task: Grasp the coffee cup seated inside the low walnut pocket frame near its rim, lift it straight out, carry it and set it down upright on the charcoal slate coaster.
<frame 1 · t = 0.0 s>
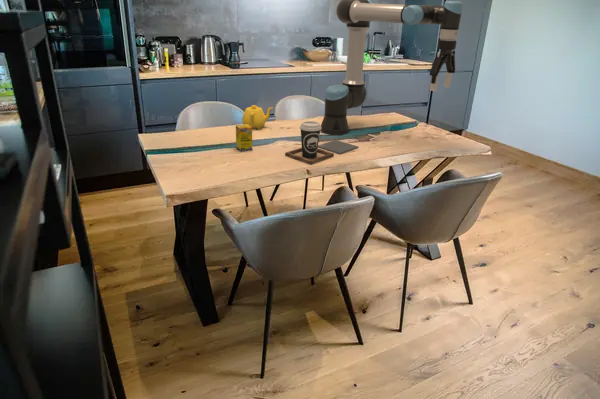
hand: (439, 89, 200), 28 cm above the table, fingers open, 13 cm apart
coffee cup: (309, 156, 195), resting in pocket frame
supplement box: (244, 149, 202), on the table
coaster: (337, 147, 207), on the table
pocket frame: (309, 156, 195), on the table
teapot: (257, 127, 235), on the table
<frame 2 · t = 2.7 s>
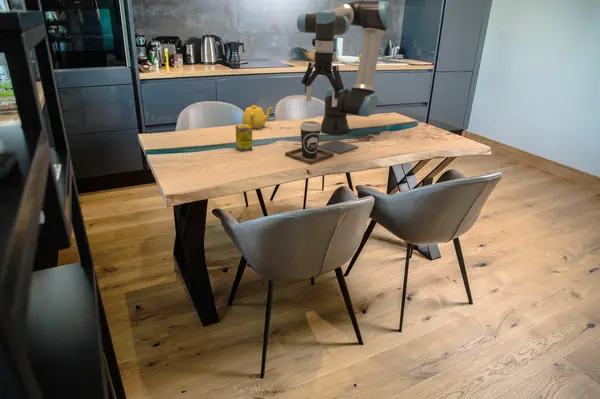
hand: (321, 103, 186), 23 cm above the table, fingers open, 13 cm apart
nothing on the table moved.
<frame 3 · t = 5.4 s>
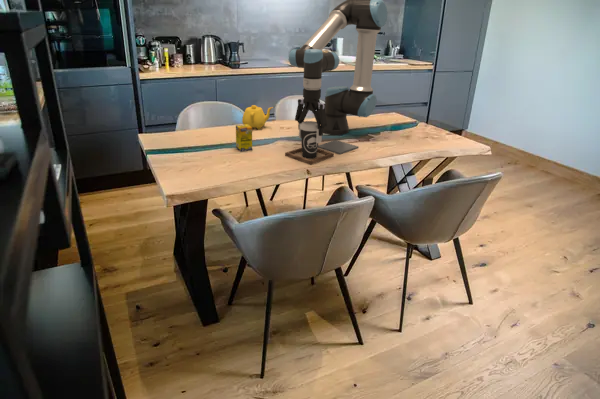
hand: (310, 139, 192), 8 cm above the table, fingers closed on coffee cup, 9 cm apart
coffee cup: (309, 156, 195), resting in pocket frame, touching gripper
everything else where it was.
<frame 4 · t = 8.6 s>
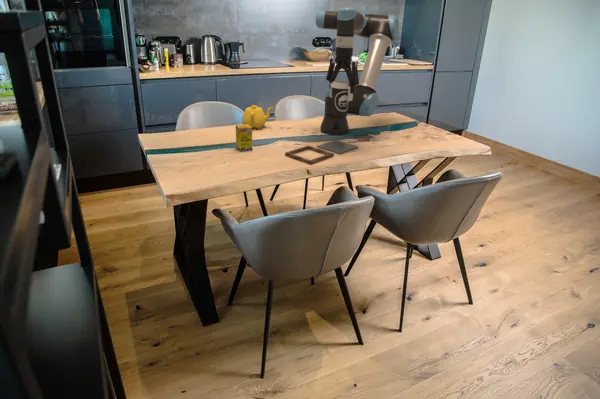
hand: (340, 98, 197), 23 cm above the table, fingers closed on coffee cup, 9 cm apart
coffee cup: (339, 115, 201), point 15 cm above the table, touching gripper
everything else where it was.
when the fingers open (10 cm above the table, at t = 11.9 s): coffee cup drops 2 cm, resting on coaster.
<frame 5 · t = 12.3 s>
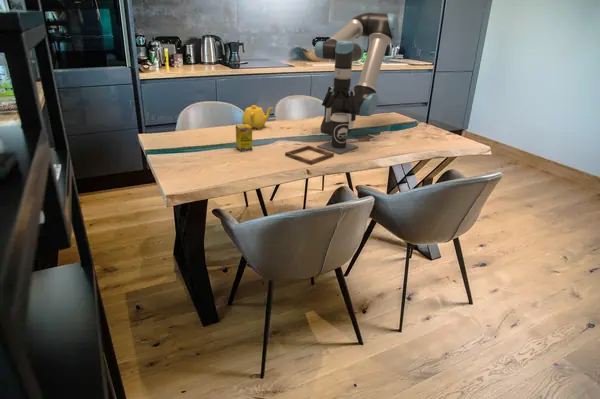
hand: (339, 124, 202), 11 cm above the table, fingers open, 13 cm apart
coffee cup: (338, 146, 207), point 1 cm above the table, touching coaster
everything else where it was.
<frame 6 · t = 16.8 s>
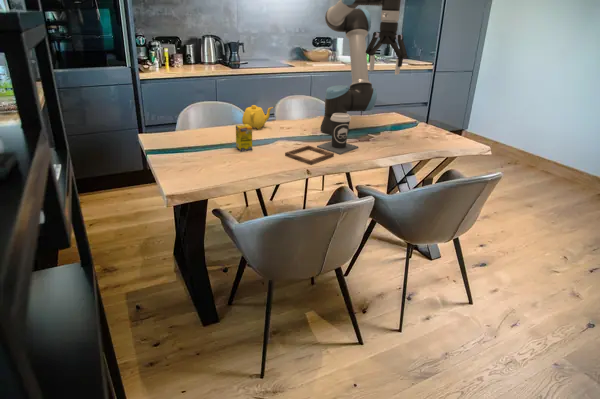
hand: (383, 72, 196), 35 cm above the table, fingers open, 13 cm apart
nothing on the table moved.
at the end: coffee cup inside the target area on the coaster (0.4 cm from its centre), point 0.6 cm above the coaster's base; coffee cup tilted 0°; the gripper is holding nothing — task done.
